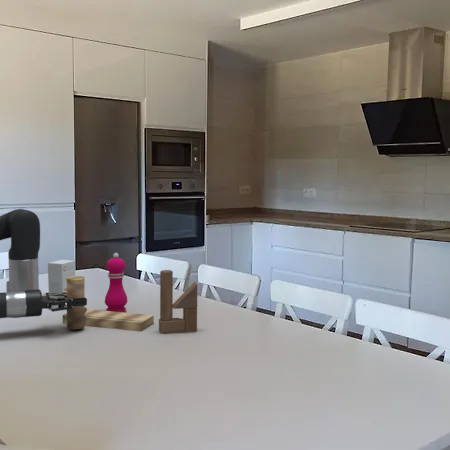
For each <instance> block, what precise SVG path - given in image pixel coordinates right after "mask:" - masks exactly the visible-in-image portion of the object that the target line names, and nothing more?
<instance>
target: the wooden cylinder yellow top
mask: <svg viewBox="0 0 450 450" xmlns="http://www.w3.org/2000/svg"><path fill="white" fill-rule="evenodd" d="M85 291H86V290H85V276H82V275H75V276H71V277H67V298H86V297H85ZM66 305H68V303H66ZM85 306H86V305H85ZM85 306H74V307H72V309H68V310H66V314H67V324H66V328H67V329H69V330H81V329H84V328H85V327H86V326H85V313H86V311H87V309H88V308H87V307H85Z"/></svg>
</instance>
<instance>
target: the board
mask: <svg viewBox="0 0 450 450" xmlns="http://www.w3.org/2000/svg"><path fill="white" fill-rule="evenodd" d="M154 316H155V315H154V314H145V313H144V314H143V313H135V312H134V313H133V312H126V313H124V312H113V311H106V310H102V309H101V310H100V309H88V308H87V311H86V313H85V327H86V326H89V327H94V328H95V327H98V328H108V329H116V330H127V331H134V332H135V331H136V332H142V331H144V330H146V329H147V328H148V327H150V326H152V325H153V324H154V323H155V321H154V320H155V317H154ZM65 323H67V313H65V314H63V315H62V324H65Z"/></svg>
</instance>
